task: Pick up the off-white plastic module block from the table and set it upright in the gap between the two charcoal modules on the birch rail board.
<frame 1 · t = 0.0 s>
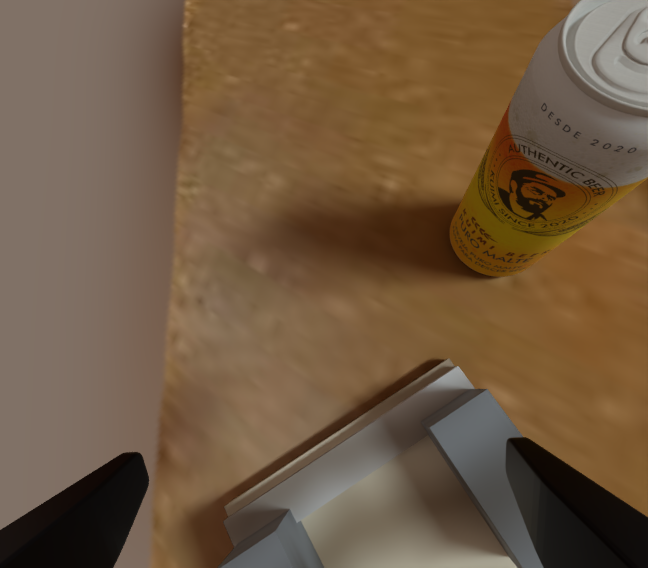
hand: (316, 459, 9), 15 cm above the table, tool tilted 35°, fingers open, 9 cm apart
beer can: (490, 240, 25), on the table
rail board: (394, 522, 21), on the table
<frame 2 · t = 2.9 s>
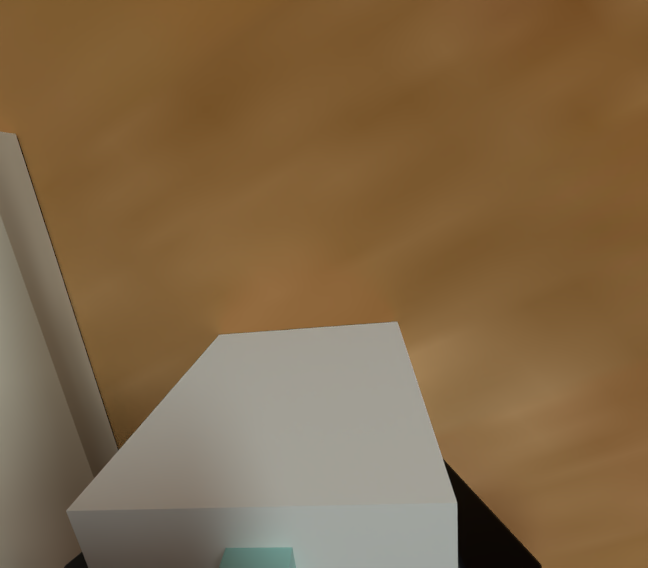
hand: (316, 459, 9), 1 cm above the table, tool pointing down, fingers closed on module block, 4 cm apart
module block: (319, 430, 9), on the table, touching gripper
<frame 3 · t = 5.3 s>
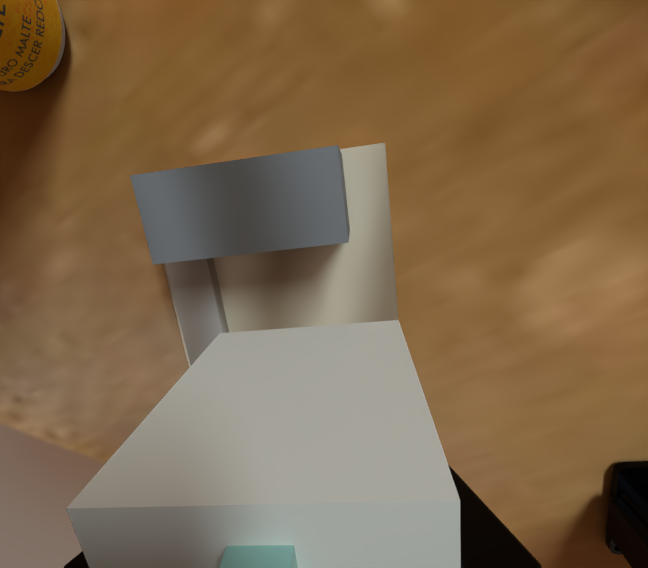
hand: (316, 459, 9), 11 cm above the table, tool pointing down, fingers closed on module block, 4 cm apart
module block: (320, 428, 9), point 10 cm above the table, touching gripper
beer can: (19, 28, 17), on the table
rail board: (288, 315, 20), on the table
when the fingers open (3 cm above the table, at t = 8.0 s): module block drops 1 cm, resting on rail board.
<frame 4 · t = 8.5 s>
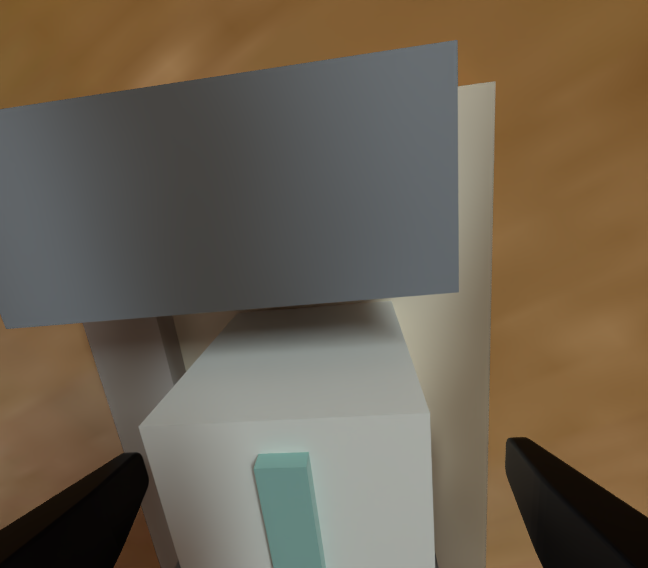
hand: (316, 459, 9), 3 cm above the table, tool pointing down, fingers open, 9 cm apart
module block: (324, 397, 11), point 1 cm above the table, touching rail board
rail board: (296, 383, 12), on the table
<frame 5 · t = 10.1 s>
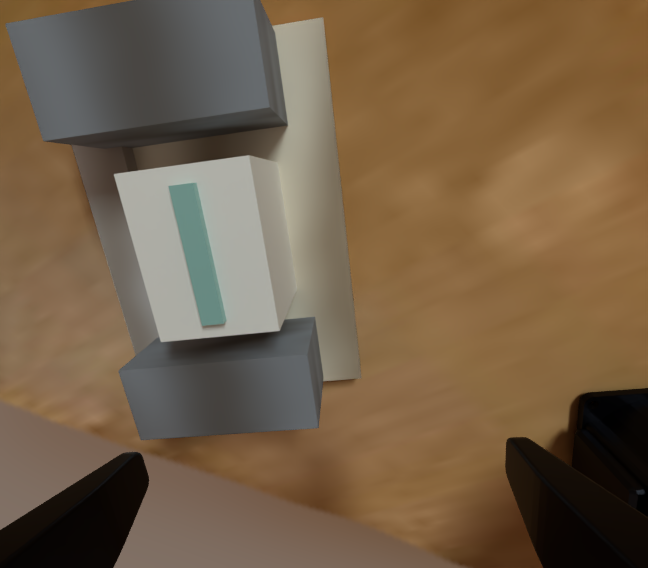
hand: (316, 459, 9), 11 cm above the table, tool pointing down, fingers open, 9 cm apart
module block: (241, 234, 17), point 1 cm above the table, touching rail board
rail board: (227, 234, 18), on the table
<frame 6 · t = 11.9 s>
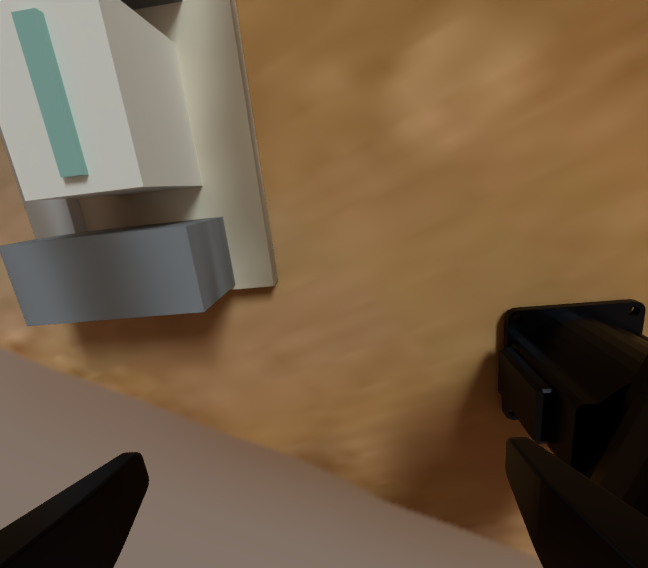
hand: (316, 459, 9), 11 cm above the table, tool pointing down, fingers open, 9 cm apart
module block: (143, 124, 16), point 1 cm above the table, touching rail board
rail board: (135, 131, 17), on the table
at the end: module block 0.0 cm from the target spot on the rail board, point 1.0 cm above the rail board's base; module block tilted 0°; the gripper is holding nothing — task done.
